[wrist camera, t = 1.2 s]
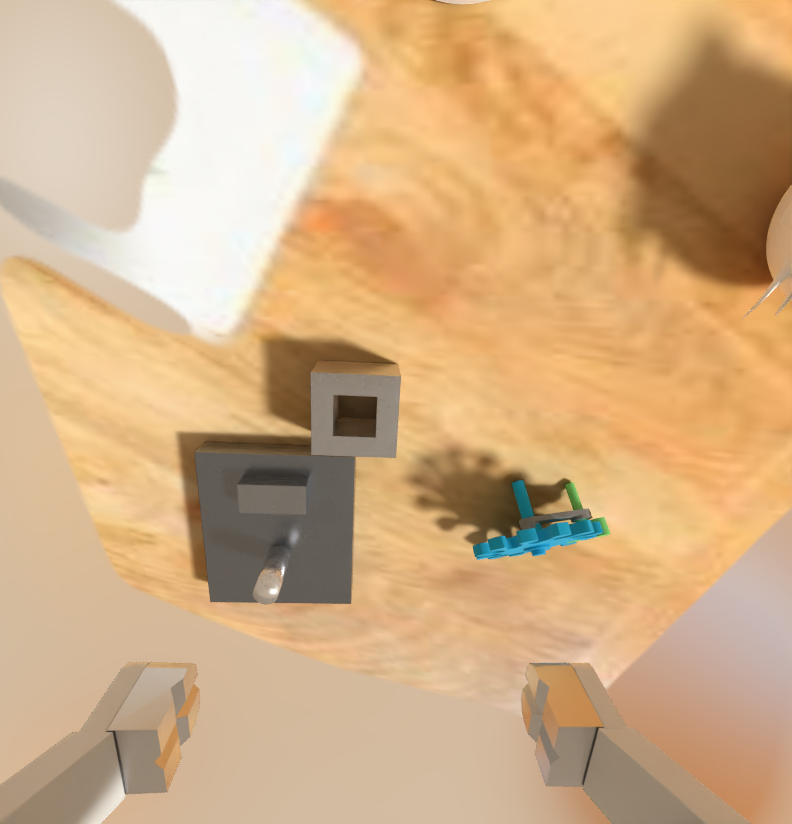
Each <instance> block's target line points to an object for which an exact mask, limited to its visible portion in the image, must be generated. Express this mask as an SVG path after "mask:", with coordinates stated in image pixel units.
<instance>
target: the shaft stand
mask: <svg viewBox="0 0 792 824" xmlns="http://www.w3.org/2000/svg"><path fill="white" fill-rule="evenodd" d="M194 453H195V462H196V472H197V481H198V491H199V500H200V510H201V519H202V528H203V538H204V547H205V557H206V566H207V576H208V585H209V594H210V602H256V603H261V604H271V603H331V604H351V597H352V580H353V544H354V509H355V473H356V456H327V455H311V445H284V444H255V443H227V442H204V443H203V444H202V445H201V446H200V447H199V448H198V449H197V450H196V451H195V452H194Z"/></svg>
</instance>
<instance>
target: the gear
mask: <svg viewBox="0 0 792 824" xmlns="http://www.w3.org/2000/svg"><path fill="white" fill-rule="evenodd" d="M512 487H513V490H514V494H515V497H516V501H517V504H518V507H519V511H520V514H521V518H522V519H521V520H519V525H520V528H521V530H520V531H517V532H516V533H517V535H516V536H514V537H510V538H506V537H505V536H499V537H495V538H491V539H488V543H480V544H477V545H474V546H473V550H474V554H475V557H476V558H477V560H479V559H485V558H488V559H496V558H500V557H504V556H508V555H509V557H511V556H518V555H522V554H525V553H527V552H532V556H538V555H543V554H546V553H545V550H549V549H550V547H553V546H556V545H561V546H566V545H570V544H575V543H577V542H576V541H580V540H587V539H591V538H594V537H601V536H606V535H610V531H609V529H608V526H607V523H606V521H605V518H604V517H602V518H597V519H593V520H589V519H591V518H592V516H591V513H590V510H589V509H583V508H582V505H581V502H580V499H579V497H578V494H577V491H576V488H575V486H574V483H568V484H566V485H565V487H566V490H567V493H568V496H569V499H570V502H571V504H572V507H573V510H574V511H567V512H560V513H553V514H546V515H540V516H534V513H533V510H532V507H531V503H530V500H529V497H528V494H527V490H526V487H525V484H524V481H523V480H520V481H515V482H513V483H512ZM570 519H571V522H576V523H573V524H568V522H563V523H555V524H552V525H550V526H548V527H546V528H544V529H542V526H541V524H543V523H550V522H557V521H563V520H570Z"/></svg>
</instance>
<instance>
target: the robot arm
mask: <svg viewBox="0 0 792 824" xmlns="http://www.w3.org/2000/svg"><path fill="white" fill-rule="evenodd" d="M436 1H441V2H445V3H452V4H473V3H480V2H485V1H489V0H436ZM197 675H198V674H197V668H196V664H192V663H161V662H160V663H158V662H129V663H127V664H126V665H125V666H124V667H123V668H122V669H121V670H120V672H119V673H118V675H117V677H116V678H115V679H114V681H113V682H112V684H111V685H110V687H109V688H108V690H107V691H106V693H105V694H104V696H103V697H102V699H101V700H100V702H99V703H98V705H97V706H96V708H95V709H94V711H93V712H92V714H91V715H90V717H89V718H88V720H87V721H86V722H85V724H84V726H83V727H82V728H81V730H80V731H79V732H72V733H70V734H69V735H68V736H66V737H65V738H63V739H62V740H61V741H59V742H58V743H57V744H55V745H54V746H53V747H51V748H50V749H49V750H47V751H46V752H44V753H43V754H42V755H40V756H39V757H38V758H36V759H35V760H34V761H32V762H31V763H29V764H28V765H27V766H26V767H24V768H23V769H21V770H20V771H19V772H17V773H16V774H14V775H13V776H12V777H11V778H9V779H8V780H6V781H5V782H4V783H2V784H1V785H0V824H101V823H102V821H104V819H105V818H106V817H107V816H108V815H109V814H110V813H111V812H112V811H113V810H114V809H115V808H116V807H117V806H118V804H119V803H120V802H121V801H122V800H123V799H124V798H125V794H141V793H162V792H167V791H168V789H169V786H170V784H171V781H172V779H173V777H174V775H175V772H176V770H177V767H178V765H179V763H180V760H181V751H180V746H181V745H182V744H183V743H184V742H185V741H186V740H187V739H188V738H189V737H190V736H191V733H192V731H193V728H194V726H195V723H196V719H197V715H198V711H199V704H200V692H199V689H198V688H197V687H196V686H195V685H194V682H195V680H196V677H197ZM525 675H526V678H527V681H528V684H527V685H526V686H525V687H524V688H523V690H522V697H521V704H522V714H523V719H524V723H525V726H526V729H527V732H528V734H529V735H530V736H531V737H532V738H533V739H534V740H535V741H536V742H537V745H536V751H535V756H536V759H537V762H538V765H539V767H540V770H541V773H542V776H543V779H544V782H545V785H546V786H564V787H583V790H584V791H585V793H586V794H587V795H588V796H589V797H590V798H591V800H592V801H593V802H594V803H595V804H596V806H597V807H598V808H599V809H600V810H601V811H602V813H603V814H604V815H605V816H606V817H607V818H608V820H609V821H610V822H611V823H612V824H751V823H750V822H749V821H747V820H746V819H745V818H744V817H743V816H741V815H740V814H739V813H738V812H737V811H735V810H734V809H733V808H732V807H730V806H729V805H728V804H727V803H725V802H724V801H723V800H722V799H720V798H719V797H718V796H717V795H716V794H714V793H713V792H712V791H711V790H709V789H708V788H707V787H706V786H705V785H703V784H702V783H701V782H700V781H698V780H697V779H696V778H695V777H694V776H692V775H691V774H690V773H688V772H687V771H686V770H685V769H684V768H682V767H681V766H680V765H679V764H677V763H676V762H675V761H674V760H673V759H671V758H670V757H669V756H668V755H666V754H665V753H664V752H663V751H662V750H660V749H659V748H658V747H657V746H655V745H654V744H653V743H652V742H651V741H649V740H648V739H647V738H646V737H644V736H643V735H642V734H641V733H639V732H638V731H637V730H636V729H635V728H628V727H627V726H626V724H625V722H624V721H623V719H622V717H621V715H620V714H619V712H618V710H617V708H616V707H615V705H614V703H613V701H612V700H611V698H610V696H609V695H608V693H607V691H606V689H605V688H604V686H603V684H602V682H601V681H600V679H599V677H598V675H597V674H596V672H595V670H594V669H593V667H592V666H591V665H590V664H589V663H529V665H528V666H527V669H526V674H525Z"/></svg>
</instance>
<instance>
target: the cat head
mask: <svg viewBox="0 0 792 824" xmlns="http://www.w3.org/2000/svg"><path fill="white" fill-rule="evenodd" d="M766 256H767V262H768V267H769V270H770V273H771V275H772V277H773V279H774V280H773V281H772V283H771V284H770V286H769V287H768V289H767V290H766V292H765V293H764V294H763V296H762V297H761V298H760V299H759V300H758V301H757V303H756V304H755V305H754V306H753V307H752V308H751V309H750V311H749V312H748V313H747V314H746V315H745V316H744V317H746V316H747V315H748V314H749V313H750V312H751V311H753V310H754V309H755V308H756V307H757V306H758V305H759V304H760V303H761V302H762V301H763V300H764V299H765V298H766V297H767V296H768V295H769V294H770V293H771V292H772V291H773V290H774V289H775V288H776V287H777V286H778V288H779V289H780V290H781V292H782V293H783V294H784V295H785V296H786V298H785V299H784V301H783V303H782V304H781V306H780V307H779V309H778V311H777V312H776V314H775V316H777V314H778V313H779V312H780V311H781V310H782V309H783V307H784V306H785V305H786V304H787V303H788V302H789V300H790V301H791V302H792V184H791V186H790V187H789V188H788V190H787V191H786V193H785V194H784V196H783V197H782V199H781V201H780V202H779V204H778V206H777V208H776V210H775V212H774V215H773V217H772V220H771V223H770V226H769V230H768V235H767V242H766ZM744 317H743V318H744ZM743 318H742V319H743Z"/></svg>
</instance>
